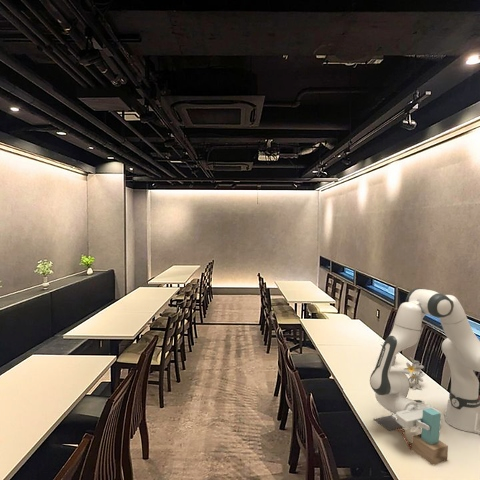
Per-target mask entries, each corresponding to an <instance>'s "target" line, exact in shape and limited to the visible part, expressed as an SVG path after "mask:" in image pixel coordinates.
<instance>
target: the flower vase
mask: <svg viewBox="0 0 480 480" xmlns="http://www.w3.org/2000/svg"><path fill="white" fill-rule="evenodd" d="M409 359H410V360H411V363H412V364H411V363H409V362H406V367H405V368H404V367H395V366H391V369H390V371H398V372H403V373H404V374H405V375H408V379H409V381H410V382H411V383H410V387H412V390H413V391H414V390H416V389H418V390H423V389H422V388H421V385H419V383H420V382H421V383H422V382H424V379H423V377H424V376H425V373H423V371H422V369H424V368H425V366H424V365H422V363H420V361H419V360H415V359H414V358H413V356H412V357H411V356H410V357H409ZM410 387H409V388H410Z"/></svg>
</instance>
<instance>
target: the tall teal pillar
mask: <svg viewBox="0 0 480 480" xmlns="http://www.w3.org/2000/svg"><path fill="white" fill-rule="evenodd" d="M440 414H441V415H442V412H441V413H439V412H437V411H435V410H434V409H432V408H428V409H424V410H423V416H422V423H425V424H429V425H430V426H431V430H426V429H424V428H421V433H420V434H421V439H423V440H424V441H426V442H427V443H429V444H430V445H432V444H435V443H439V440H440V429H441V427H440V422H441V421H440Z"/></svg>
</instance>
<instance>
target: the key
mask: <svg viewBox="0 0 480 480" xmlns="http://www.w3.org/2000/svg"><path fill="white" fill-rule="evenodd" d="M396 431H397V432H399V433H401V435H402V437H403V439H404V441H405V442H406V445H407V446H408V449H410V450H412V441H411V442H410V441H408V439H407V437H406V435H405V434H404V433H405V432H406V429H405V428H400V427H397V428H396Z"/></svg>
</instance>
